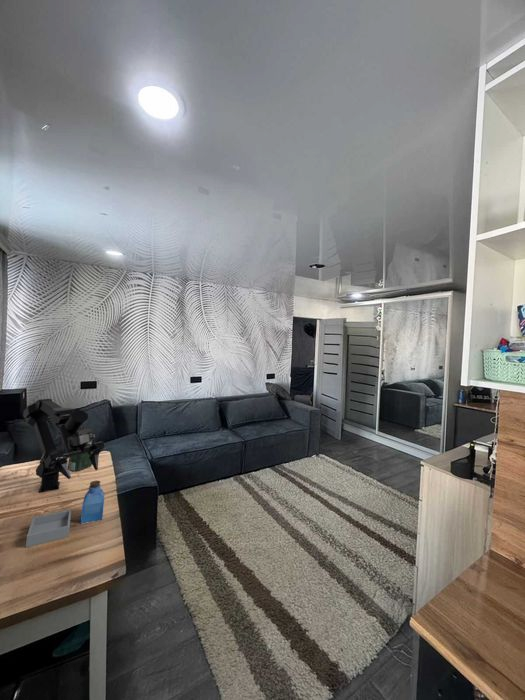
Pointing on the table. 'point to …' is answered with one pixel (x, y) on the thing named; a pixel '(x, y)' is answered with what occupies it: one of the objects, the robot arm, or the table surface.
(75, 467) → the coffee jar
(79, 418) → the robot arm
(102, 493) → the perfume bottle
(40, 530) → the tray
